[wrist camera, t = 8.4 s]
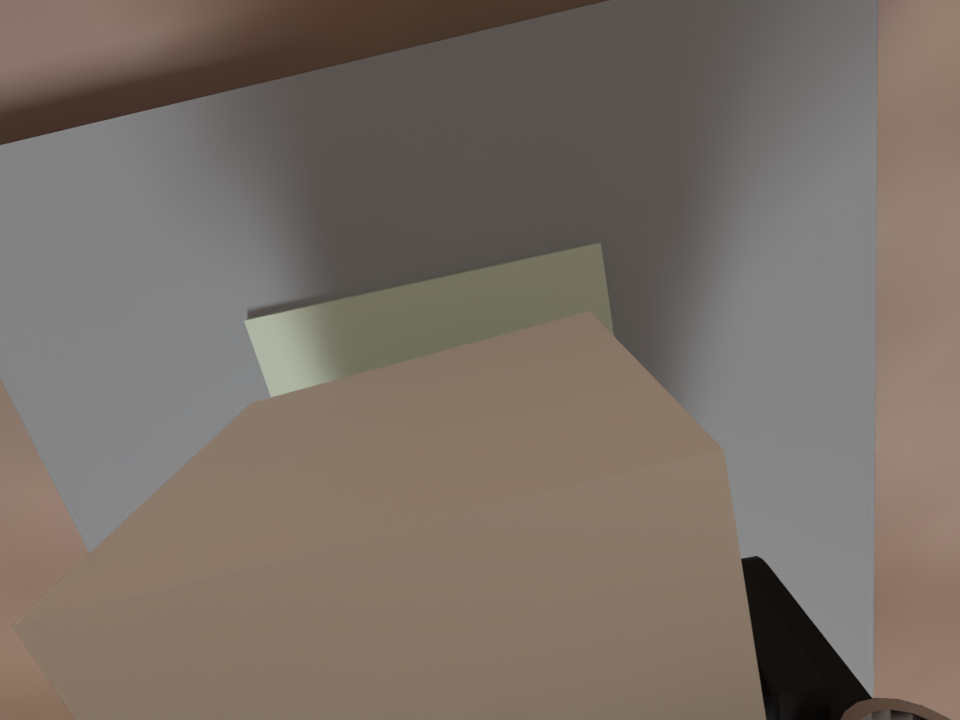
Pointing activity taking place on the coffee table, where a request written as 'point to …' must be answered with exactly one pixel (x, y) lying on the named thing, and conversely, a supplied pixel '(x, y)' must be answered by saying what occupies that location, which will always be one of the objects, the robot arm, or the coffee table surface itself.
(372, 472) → the cream block
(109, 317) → the build board
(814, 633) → the robot arm
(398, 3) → the coffee table surface
